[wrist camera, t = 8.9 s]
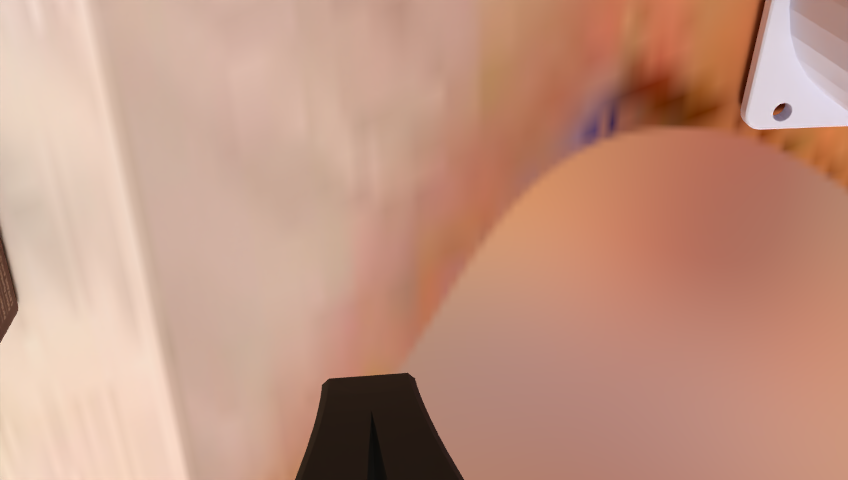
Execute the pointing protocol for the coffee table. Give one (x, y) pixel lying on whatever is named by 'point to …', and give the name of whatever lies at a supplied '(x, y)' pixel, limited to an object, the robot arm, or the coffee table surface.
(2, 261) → the box
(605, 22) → the coffee table surface
